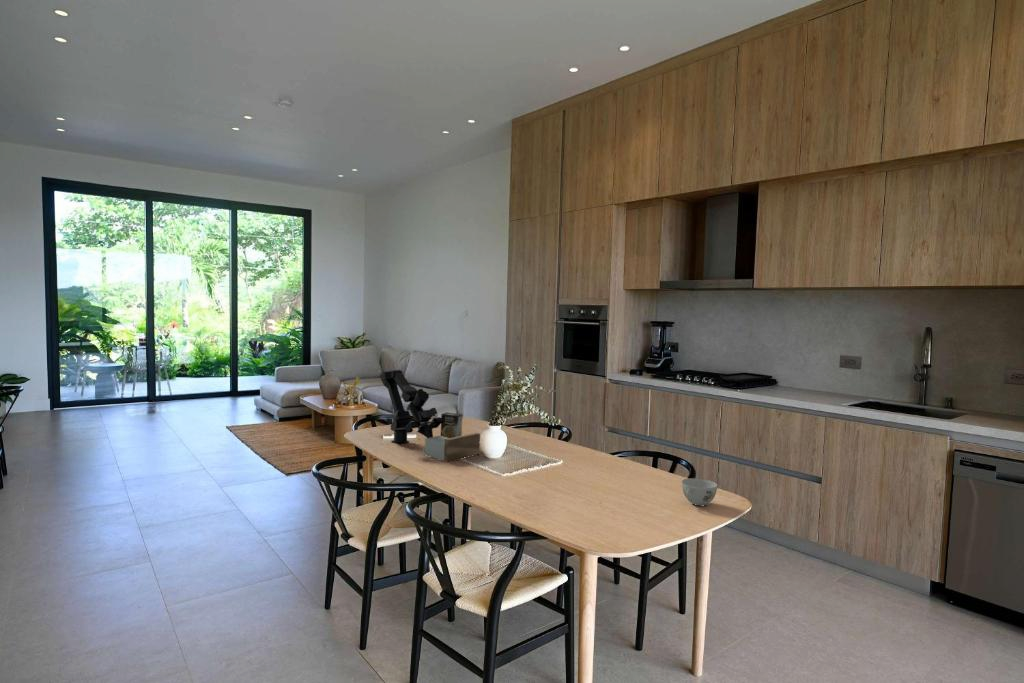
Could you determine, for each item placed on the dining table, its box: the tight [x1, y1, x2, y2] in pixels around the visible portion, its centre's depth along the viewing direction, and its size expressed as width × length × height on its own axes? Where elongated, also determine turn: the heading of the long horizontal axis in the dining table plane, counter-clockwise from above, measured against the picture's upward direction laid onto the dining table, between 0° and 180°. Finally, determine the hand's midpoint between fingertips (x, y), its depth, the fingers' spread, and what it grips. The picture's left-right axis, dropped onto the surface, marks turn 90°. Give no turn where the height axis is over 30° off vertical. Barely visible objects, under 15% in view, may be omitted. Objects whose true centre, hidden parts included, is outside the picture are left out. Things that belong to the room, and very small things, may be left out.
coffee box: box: [440, 411, 464, 438], centre depth 278 cm, size 9×6×16 cm
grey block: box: [424, 435, 448, 462], centre depth 257 cm, size 13×9×8 cm
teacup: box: [681, 477, 718, 506], centre depth 205 cm, size 15×12×8 cm
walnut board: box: [443, 432, 481, 463], centre depth 256 cm, size 2×20×10 cm, turn 139°
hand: (432, 439), depth 261 cm, fingers closed, pressing on grey block
